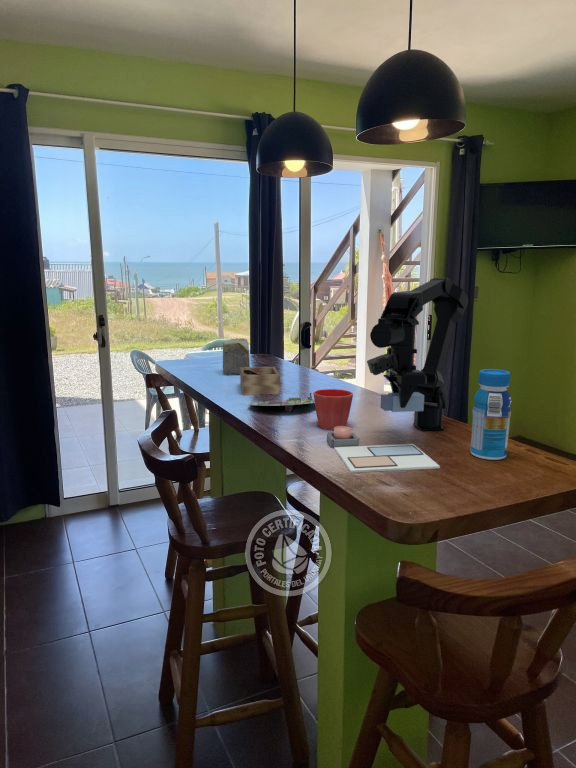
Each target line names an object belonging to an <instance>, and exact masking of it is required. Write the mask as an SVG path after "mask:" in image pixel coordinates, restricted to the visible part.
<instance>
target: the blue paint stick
mask: <svg viewBox="0 0 576 768" xmlns="http://www.w3.org/2000/svg"><path fill="white" fill-rule="evenodd" d="M380 409H382V410H383V411H385V412H386V411H387V412H392V413H402V412H403V413H405V412H406V413H407V412H409V413H410V412H414V411H423V410H424V395H423V394H421V393H419V392H413V394H412V396H411V398H410V399H409V401H408V403H407V405H406V407H405V408H401V407H400V399H399V393H392V392H388V394H386V393H384V394H383V393H382V394H380Z"/></svg>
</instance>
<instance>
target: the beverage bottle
mask: <svg viewBox="0 0 576 768" xmlns="http://www.w3.org/2000/svg"><path fill="white" fill-rule="evenodd" d="M477 383H478V385H479V386H480V387H479V388H478V390H477V391H476V392H475V395H474V397H473V402H474V405H473V407H472V411H471V412H472V420H471V421H472V422H471V423H472V425H471V436H470V437H471V439H470V440H471V441H470V447H469V448H470V449H469V451H470V454H471V455H473V456H474V457H476V458H478V459H483V460H489V461H490V460H491V461H499V460H503V459H506V457H507V455H508V444H509V443H508V442H509V441H508V440H509V432H510V421H511V420H510V419H511V417H512V410H511V405H512V403H513V402H512V401H513V400H512V397H511V395H510V392H509V390H508V389H507V388H509V387H510V385H511V384H510V383H511V372H510V371H508V370H504V369H496V368H495V369H494V368H487V369H480V370H479V372H478V382H477Z"/></svg>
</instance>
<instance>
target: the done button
mask: <svg viewBox="0 0 576 768" xmlns="http://www.w3.org/2000/svg"><path fill="white" fill-rule="evenodd" d="M352 429H353V428H352V427H350V426H347V425H346V426H336V427H334V430H333V432H334V439H351V436H352V433H353V431H352Z"/></svg>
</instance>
